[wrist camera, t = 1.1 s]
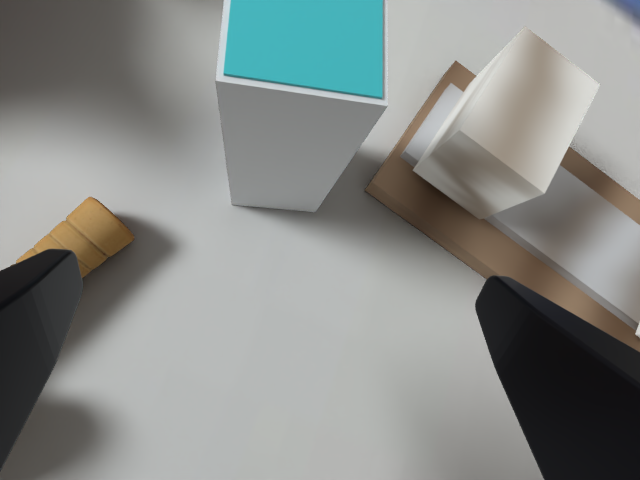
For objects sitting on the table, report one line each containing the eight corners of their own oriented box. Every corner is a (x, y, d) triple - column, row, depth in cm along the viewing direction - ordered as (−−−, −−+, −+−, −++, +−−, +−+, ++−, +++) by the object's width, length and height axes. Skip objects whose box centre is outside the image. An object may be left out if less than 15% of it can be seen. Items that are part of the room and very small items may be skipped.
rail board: (711, 275, 28) (869, 262, 21) (667, 410, 25) (834, 448, 18) (444, 74, 26) (515, -13, 19) (364, 190, 24) (415, 137, 16)
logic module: (315, 212, 23) (389, 104, 11) (231, 204, 22) (215, 78, 10) (318, 136, 24) (388, -35, 12) (238, 126, 23) (230, -70, 11)
